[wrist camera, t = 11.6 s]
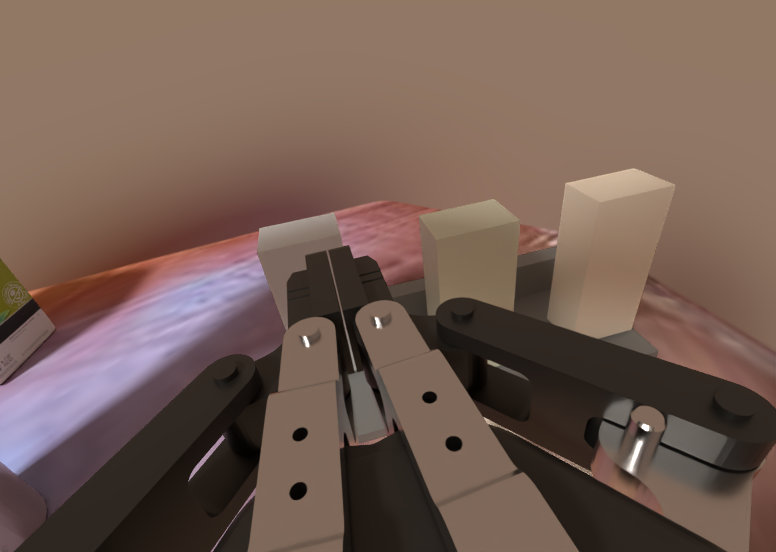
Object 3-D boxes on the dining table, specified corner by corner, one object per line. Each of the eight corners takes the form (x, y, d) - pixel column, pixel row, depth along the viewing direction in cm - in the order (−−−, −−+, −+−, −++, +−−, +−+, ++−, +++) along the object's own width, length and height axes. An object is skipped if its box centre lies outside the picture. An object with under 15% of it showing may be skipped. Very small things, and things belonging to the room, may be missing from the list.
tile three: (369, 366, 36) (340, 234, 28) (305, 383, 35) (256, 252, 27) (361, 335, 40) (333, 210, 32) (303, 350, 39) (259, 226, 31)
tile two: (509, 362, 34) (520, 220, 26) (445, 380, 34) (436, 239, 26) (488, 330, 38) (491, 197, 30) (429, 346, 37) (417, 213, 29)
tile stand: (655, 358, 34) (671, 315, 31) (307, 458, 31) (290, 419, 28) (567, 279, 45) (573, 242, 42) (300, 346, 41) (288, 310, 39)
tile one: (631, 329, 36) (675, 185, 28) (571, 345, 35) (599, 202, 27) (599, 301, 39) (630, 166, 31) (544, 315, 39) (562, 181, 31)
